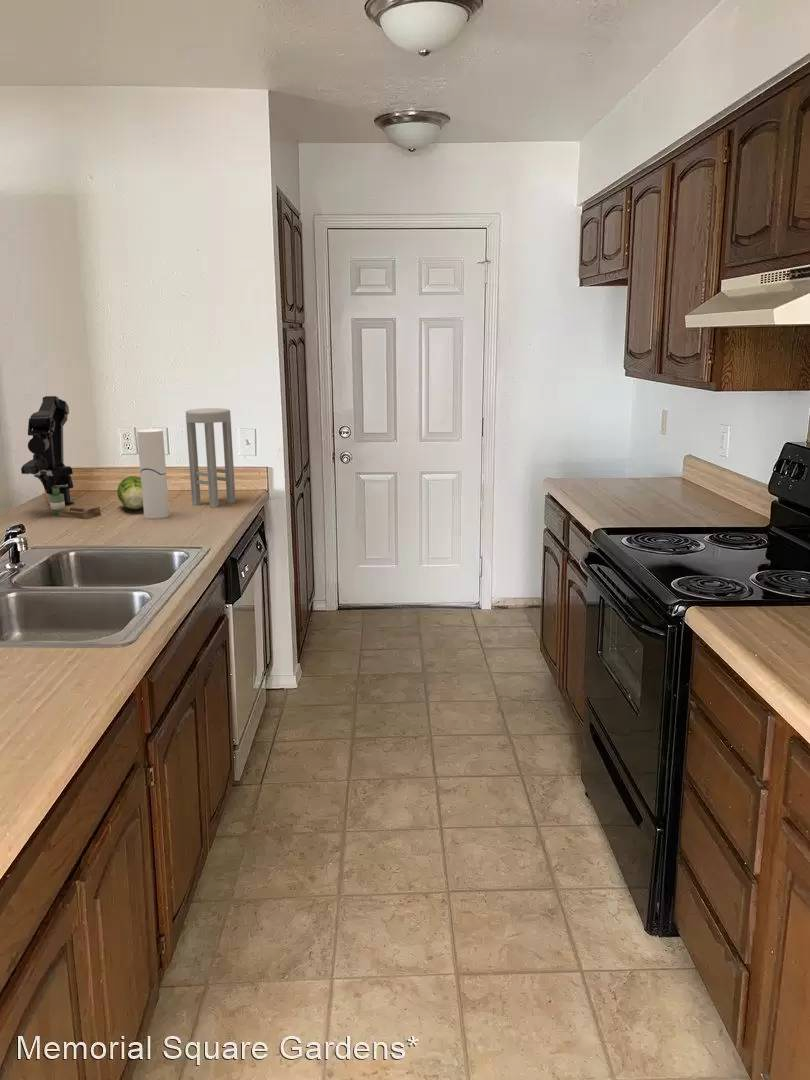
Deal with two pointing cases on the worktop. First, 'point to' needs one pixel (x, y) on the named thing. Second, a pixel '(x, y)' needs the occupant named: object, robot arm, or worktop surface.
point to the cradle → (80, 513)
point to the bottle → (56, 501)
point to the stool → (210, 454)
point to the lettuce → (131, 492)
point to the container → (153, 473)
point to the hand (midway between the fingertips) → (49, 494)
